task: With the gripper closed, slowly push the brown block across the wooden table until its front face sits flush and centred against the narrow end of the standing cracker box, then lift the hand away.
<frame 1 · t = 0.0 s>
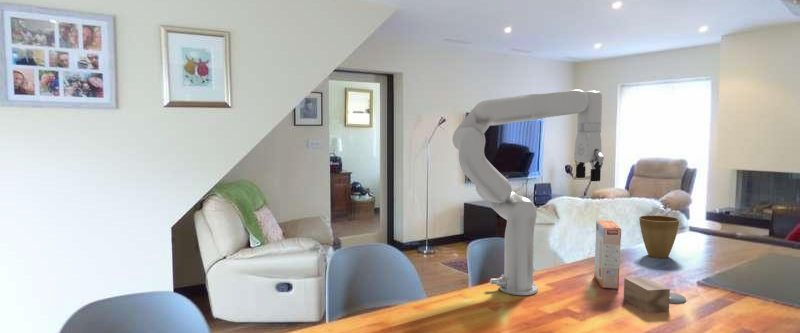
hand: (587, 179, 171), 37 cm above the kitchen island, tool pointing down, fingers open, 9 cm apart
cracker box: (606, 283, 178), on the kitchen island
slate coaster: (669, 298, 162), on the kitchen island
plant pot: (657, 256, 212), on the kitchen island
brown block: (645, 305, 156), on the kitchen island
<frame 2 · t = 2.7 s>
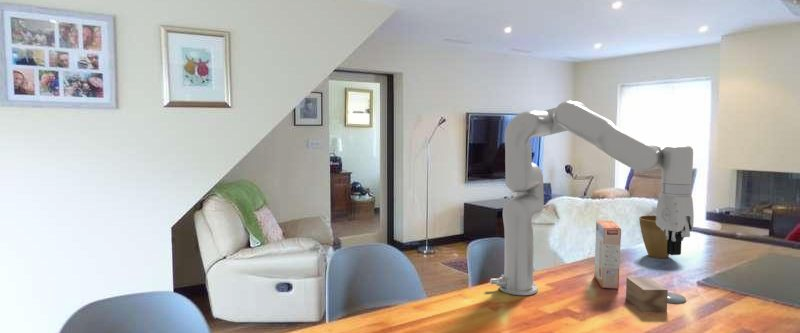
hand: (673, 254, 143), 19 cm above the kitchen island, tool pointing down, fingers closed
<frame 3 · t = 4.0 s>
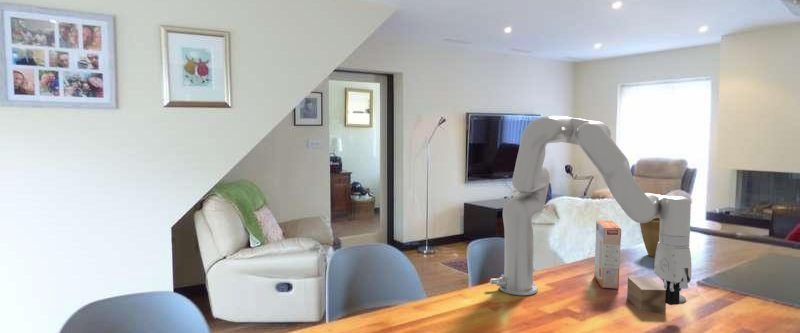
hand: (672, 303, 144), 5 cm above the kitchen island, tool pointing down, fingers closed
nothing on the kitchen island moved.
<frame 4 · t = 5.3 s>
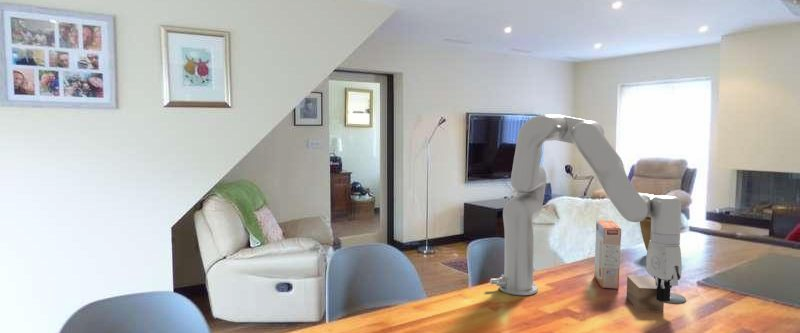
hand: (663, 300, 148), 4 cm above the kitchen island, tool pointing down, fingers closed
brown block: (644, 304, 157), on the kitchen island, touching gripper
everything else where it was.
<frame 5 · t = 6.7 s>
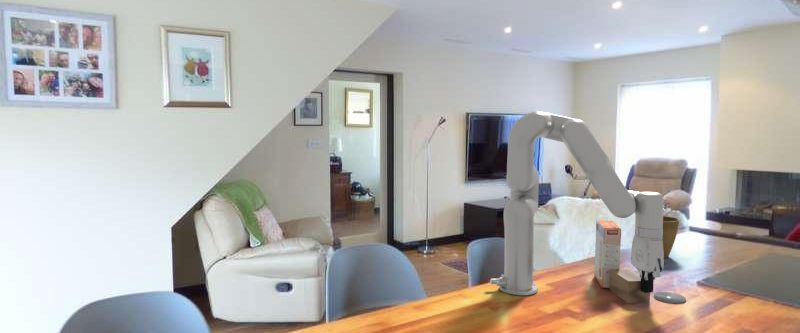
hand: (646, 291, 156), 4 cm above the kitchen island, tool pointing down, fingers closed
brown block: (629, 296, 164), on the kitchen island
everything else where it was.
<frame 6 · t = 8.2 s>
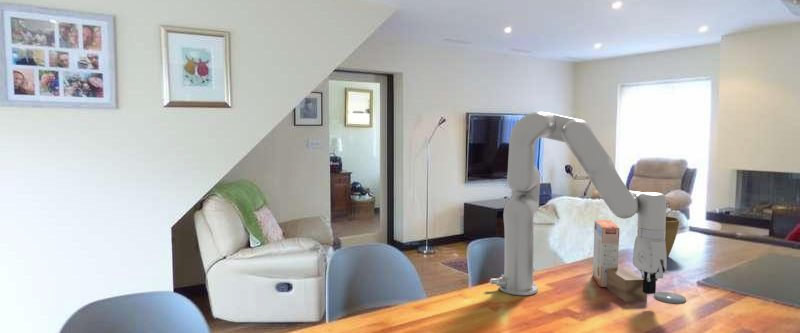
hand: (649, 292, 155), 4 cm above the kitchen island, tool pointing down, fingers closed
brown block: (626, 295, 166), on the kitchen island
everything else where it was.
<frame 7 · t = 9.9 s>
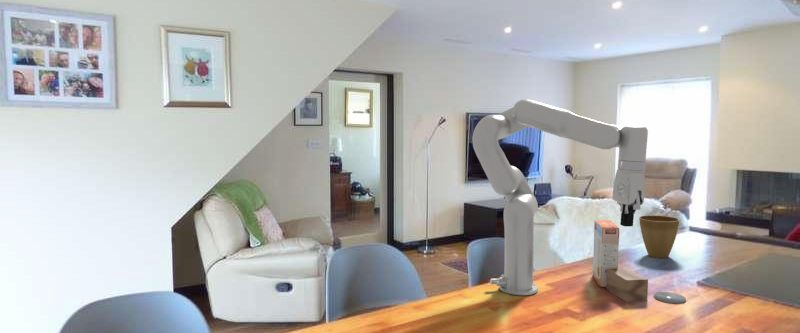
hand: (626, 225, 156), 24 cm above the kitchen island, tool pointing down, fingers closed
nothing on the kitchen island moved.
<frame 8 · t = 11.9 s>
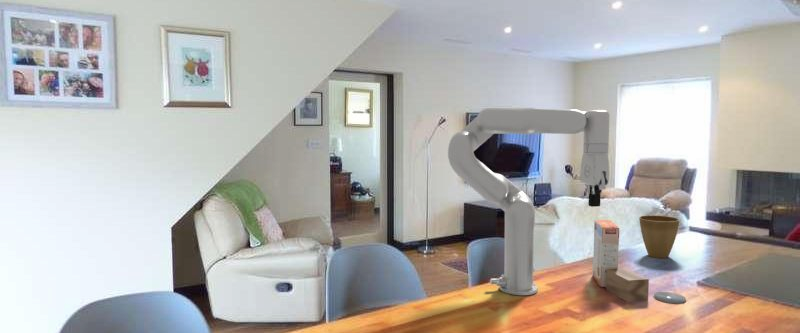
hand: (594, 205, 164), 29 cm above the kitchen island, tool pointing down, fingers closed
nothing on the kitchen island moved.
at the end: brown block 0.2 cm from the target spot on the kitchen island beside the cracker box, on the kitchen island; brown block tilted 0°; cracker box moved 1.0 cm from its start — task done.
